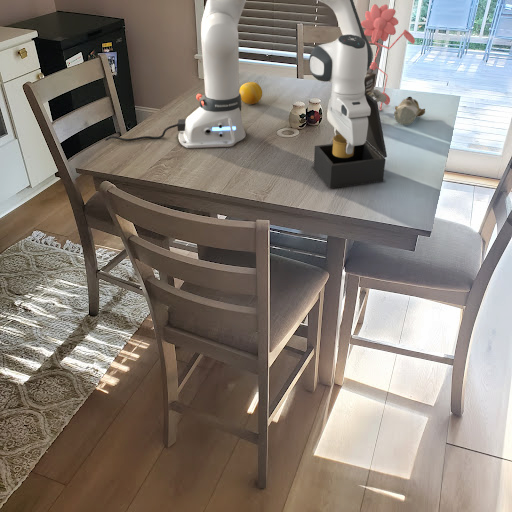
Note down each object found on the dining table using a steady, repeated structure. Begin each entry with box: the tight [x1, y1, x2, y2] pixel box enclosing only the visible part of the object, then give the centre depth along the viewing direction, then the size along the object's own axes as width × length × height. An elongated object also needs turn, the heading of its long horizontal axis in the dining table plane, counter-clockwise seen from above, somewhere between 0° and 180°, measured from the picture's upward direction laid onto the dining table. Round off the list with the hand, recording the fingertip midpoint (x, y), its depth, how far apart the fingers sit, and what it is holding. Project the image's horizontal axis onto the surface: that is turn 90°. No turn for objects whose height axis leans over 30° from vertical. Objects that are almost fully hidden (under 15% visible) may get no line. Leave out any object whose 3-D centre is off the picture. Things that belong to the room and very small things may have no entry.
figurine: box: [360, 3, 416, 111], centre depth 201 cm, size 15×26×35 cm, turn 71°
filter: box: [332, 134, 354, 158], centre depth 157 cm, size 6×6×4 cm
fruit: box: [239, 81, 263, 105], centre depth 211 cm, size 9×8×8 cm
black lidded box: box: [313, 140, 387, 189], centre depth 161 cm, size 16×14×7 cm
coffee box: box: [364, 71, 377, 99], centre depth 192 cm, size 9×6×16 cm
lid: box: [365, 89, 388, 159], centre depth 155 cm, size 17×14×5 cm
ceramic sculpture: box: [393, 96, 426, 126], centre depth 194 cm, size 11×9×15 cm
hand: (343, 147), depth 158 cm, fingers closed on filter, 6 cm apart
